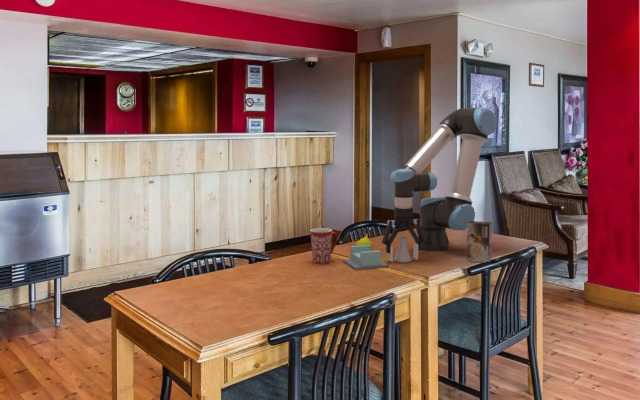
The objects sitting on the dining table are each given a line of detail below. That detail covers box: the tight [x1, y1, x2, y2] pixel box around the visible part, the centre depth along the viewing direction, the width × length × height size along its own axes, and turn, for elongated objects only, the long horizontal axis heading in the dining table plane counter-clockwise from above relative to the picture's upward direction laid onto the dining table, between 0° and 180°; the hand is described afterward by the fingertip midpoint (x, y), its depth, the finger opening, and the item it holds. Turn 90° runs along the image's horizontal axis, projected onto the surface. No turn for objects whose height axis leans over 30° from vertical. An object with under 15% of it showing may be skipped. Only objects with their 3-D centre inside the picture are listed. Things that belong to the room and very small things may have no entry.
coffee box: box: [466, 220, 493, 264], centre depth 230 cm, size 9×6×16 cm
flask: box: [393, 236, 413, 263], centre depth 231 cm, size 7×7×10 cm
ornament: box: [355, 231, 373, 251], centre depth 243 cm, size 7×7×10 cm
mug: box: [309, 227, 338, 265], centre depth 230 cm, size 13×9×14 cm
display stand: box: [342, 245, 389, 271], centre depth 225 cm, size 14×14×6 cm
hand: (403, 259), depth 231 cm, fingers open, 11 cm apart
